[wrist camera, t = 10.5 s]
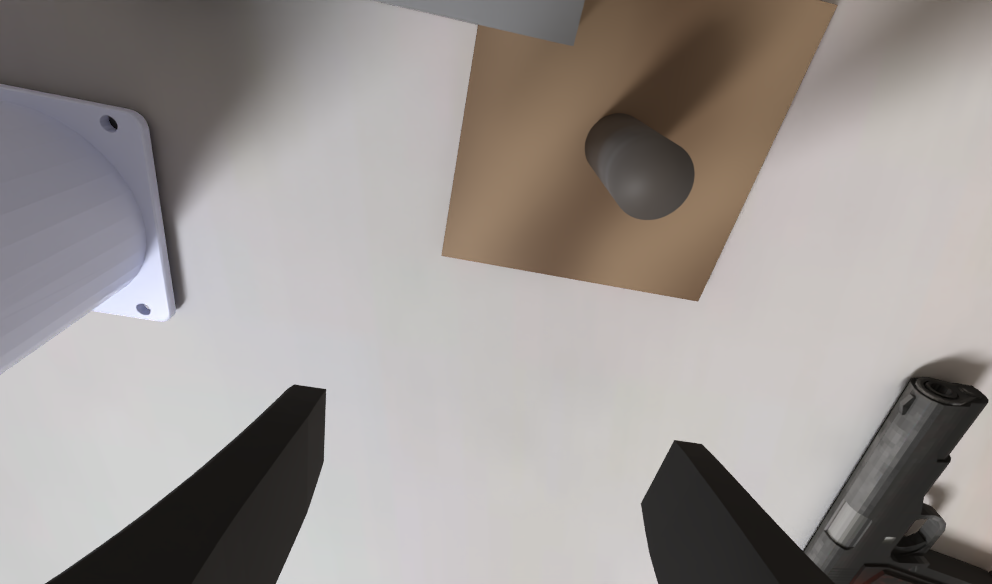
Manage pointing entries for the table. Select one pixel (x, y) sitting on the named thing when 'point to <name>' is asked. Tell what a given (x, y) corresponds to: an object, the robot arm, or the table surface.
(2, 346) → the robot arm
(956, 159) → the table surface
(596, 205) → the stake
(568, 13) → the tray
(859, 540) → the handgun
